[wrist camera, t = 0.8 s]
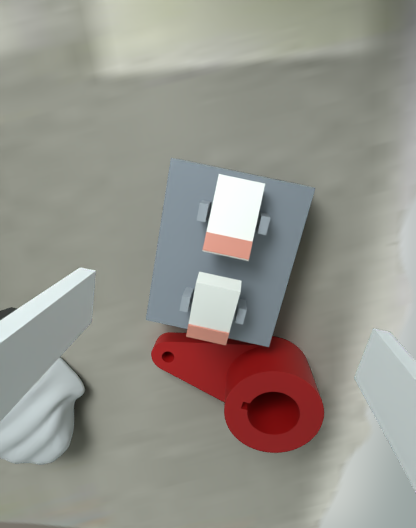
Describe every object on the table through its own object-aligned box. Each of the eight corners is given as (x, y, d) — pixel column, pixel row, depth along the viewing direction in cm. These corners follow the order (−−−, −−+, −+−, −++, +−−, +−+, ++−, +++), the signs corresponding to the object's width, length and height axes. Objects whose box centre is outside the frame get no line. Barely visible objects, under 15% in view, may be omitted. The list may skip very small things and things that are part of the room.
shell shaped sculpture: (14, 437, 44) (-22, 482, 37) (-19, 355, 40) (-66, 389, 34) (105, 431, 42) (83, 476, 36) (78, 344, 38) (48, 378, 32)
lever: (320, 348, 36) (338, 387, 30) (293, 414, 39) (304, 462, 32) (164, 305, 36) (149, 335, 30) (148, 374, 39) (131, 415, 33)
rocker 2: (199, 271, 27) (195, 283, 26) (241, 280, 27) (240, 293, 25) (189, 324, 30) (185, 337, 29) (227, 332, 30) (225, 346, 29)
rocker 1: (218, 178, 26) (218, 173, 24) (262, 187, 26) (265, 183, 24) (203, 251, 26) (202, 251, 25) (246, 260, 26) (248, 260, 25)
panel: (181, 159, 31) (165, 157, 24) (306, 185, 31) (326, 190, 24) (158, 299, 36) (139, 330, 29) (267, 323, 35) (274, 361, 29)
